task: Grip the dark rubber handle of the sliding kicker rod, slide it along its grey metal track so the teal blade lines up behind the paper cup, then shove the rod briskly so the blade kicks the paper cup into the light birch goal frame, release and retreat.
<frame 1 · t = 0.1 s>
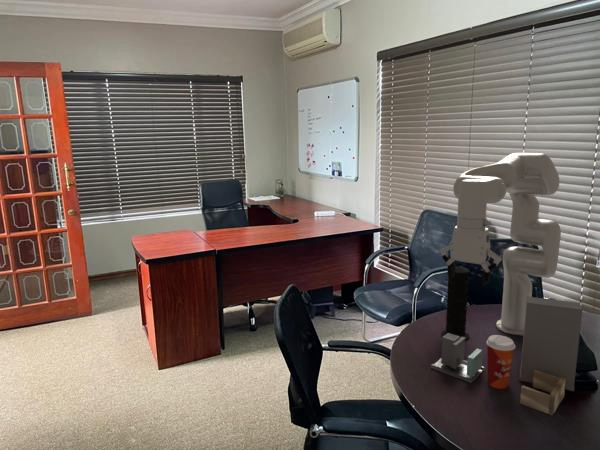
hand: (467, 280, 127), 31 cm above the table, fingers open, 9 cm apart
track: (457, 369, 138), on the table
goal: (542, 399, 122), on the table
handle grip: (455, 336, 161), on the table
cassette tape recorder: (545, 381, 131), on the table
paper cup: (497, 384, 130), on the table
kicker: (460, 353, 137), point 6 cm above the table, slide at 0.0 cm
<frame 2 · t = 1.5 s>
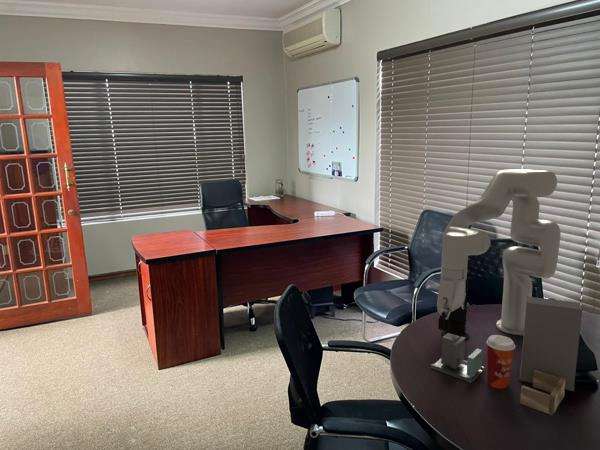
hand: (450, 325, 137), 14 cm above the table, fingers open, 9 cm apart
nothing on the table moved.
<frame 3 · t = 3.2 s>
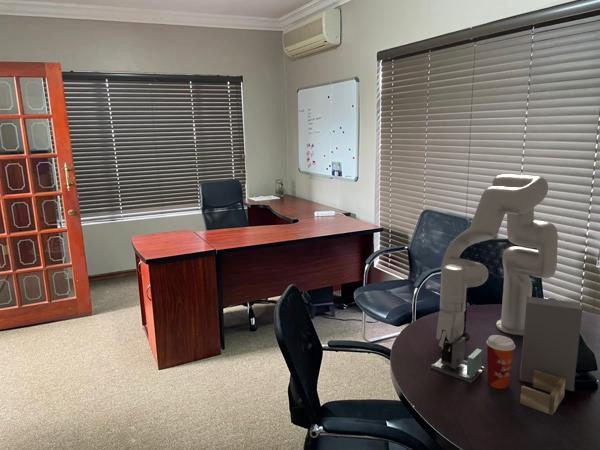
hand: (450, 358, 140), 3 cm above the table, fingers closed on kicker, 4 cm apart
kicker: (460, 353, 137), point 6 cm above the table, slide at 0.0 cm, touching gripper
everything else where it was.
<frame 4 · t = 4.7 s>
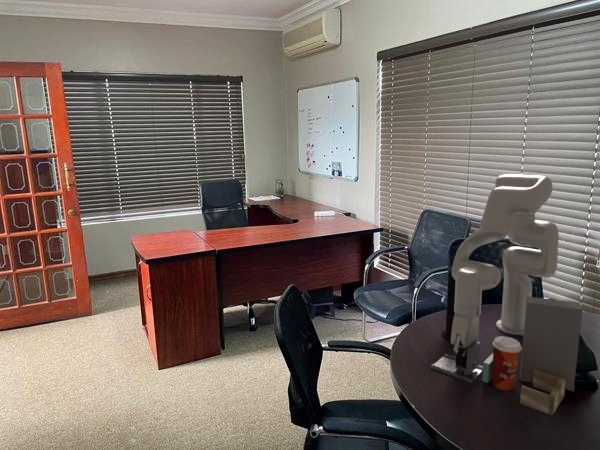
hand: (464, 362, 136), 3 cm above the table, fingers closed on kicker, 4 cm apart
paper cup: (502, 385, 129), on the table, touching kicker
kicker: (475, 358, 134), point 6 cm above the table, slide at 4.7 cm, touching gripper, paper cup
everything else where it was.
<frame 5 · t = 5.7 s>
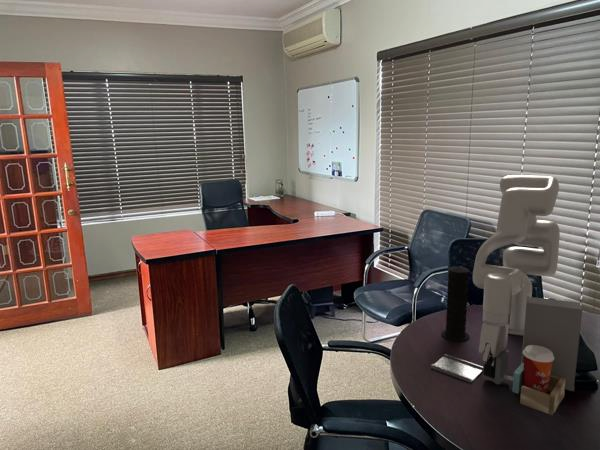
hand: (492, 372, 131), 3 cm above the table, fingers closed on kicker, 4 cm apart
paper cup: (534, 396, 123), on the table, touching kicker
kicker: (504, 367, 128), point 6 cm above the table, slide at 13.1 cm, touching gripper, paper cup
everything else where it was.
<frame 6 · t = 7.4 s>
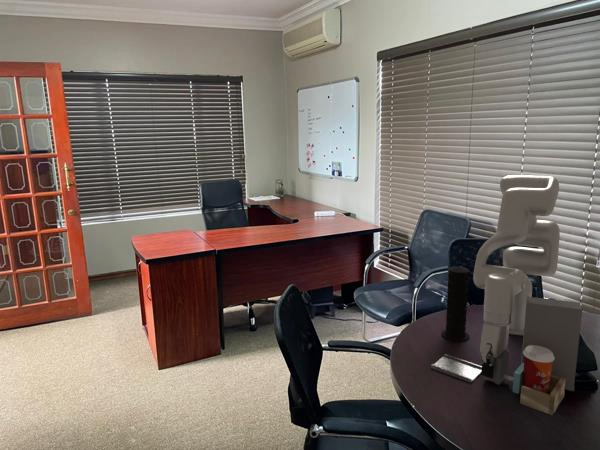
hand: (493, 369, 130), 4 cm above the table, fingers open, 9 cm apart
paper cup: (534, 397, 123), on the table
kicker: (504, 367, 128), point 6 cm above the table, slide at 13.2 cm
everything else where it was.
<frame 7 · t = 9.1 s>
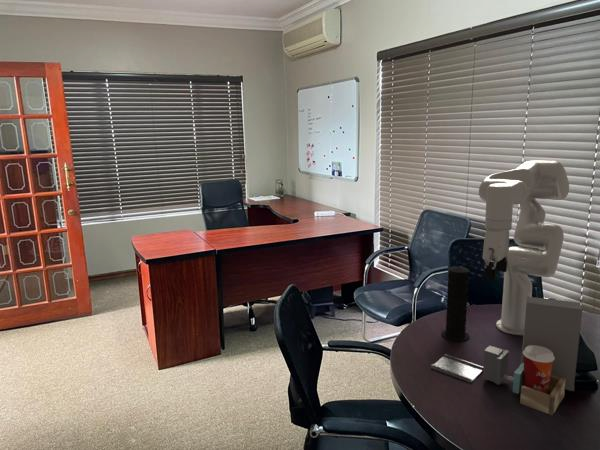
hand: (495, 275, 140), 28 cm above the table, fingers open, 9 cm apart
nothing on the table moved.
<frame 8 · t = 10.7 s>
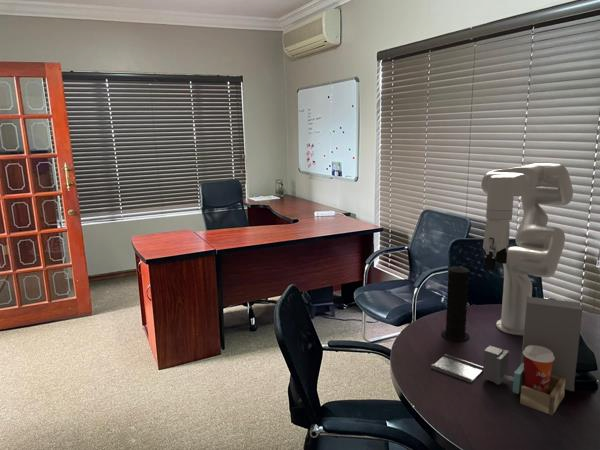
hand: (495, 266, 142), 30 cm above the table, fingers open, 9 cm apart
nothing on the table moved.
at the end: paper cup inside the target area (1.5 cm from its centre), on the table; paper cup tilted 0°; kicker slide at 13.2 cm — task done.
